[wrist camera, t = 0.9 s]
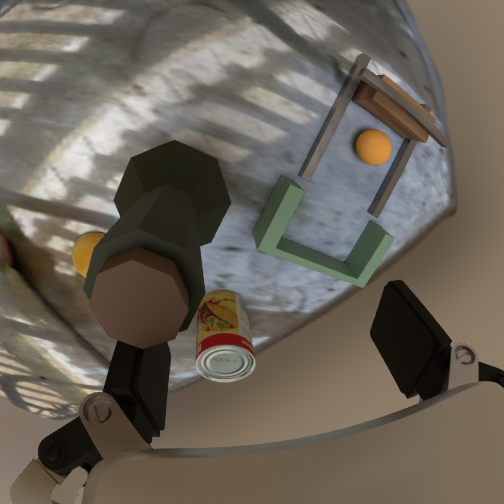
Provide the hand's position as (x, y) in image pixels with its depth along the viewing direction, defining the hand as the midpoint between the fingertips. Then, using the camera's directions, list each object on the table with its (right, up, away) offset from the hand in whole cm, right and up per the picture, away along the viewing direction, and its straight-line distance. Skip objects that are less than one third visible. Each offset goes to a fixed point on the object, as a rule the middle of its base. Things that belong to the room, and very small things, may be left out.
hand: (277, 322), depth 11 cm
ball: (+15, +17, +22) cm, 31 cm away
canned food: (-6, -6, +34) cm, 35 cm away
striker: (+18, +23, +21) cm, 36 cm away
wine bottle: (-10, +12, +23) cm, 28 cm away
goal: (+9, +6, +29) cm, 31 cm away
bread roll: (-24, +2, +27) cm, 36 cm away
